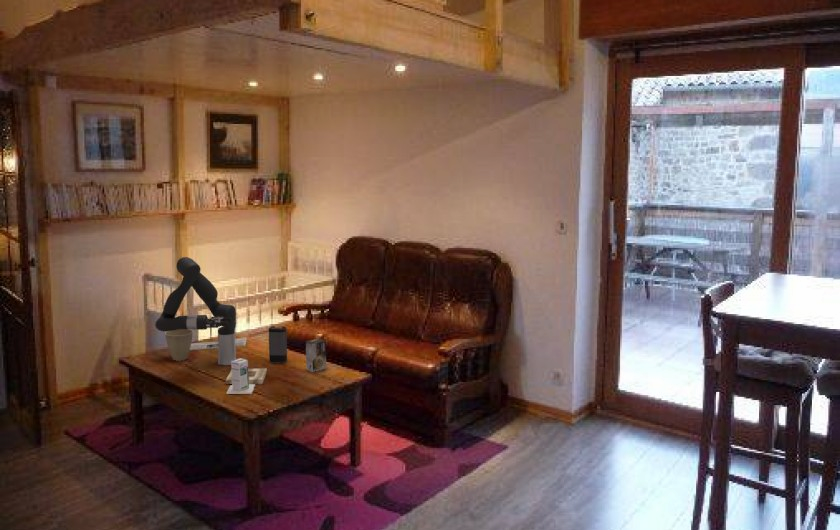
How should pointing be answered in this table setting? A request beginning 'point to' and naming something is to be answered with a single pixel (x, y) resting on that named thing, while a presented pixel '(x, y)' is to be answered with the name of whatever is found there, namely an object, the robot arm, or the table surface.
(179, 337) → the plant pot
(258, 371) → the cream square board
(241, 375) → the syrup box
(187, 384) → the table surface
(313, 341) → the coffee box
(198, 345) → the newspaper
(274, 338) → the electronic device
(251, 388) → the ceramic tile
